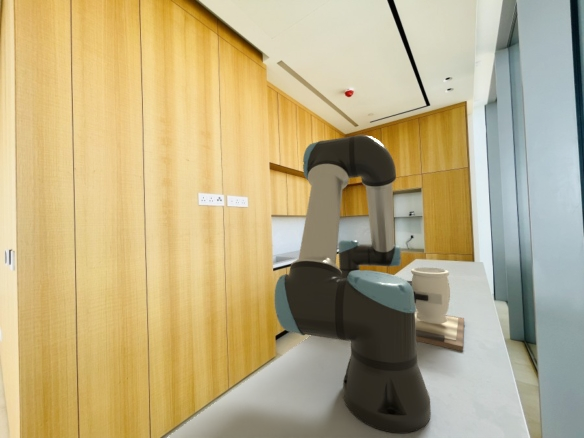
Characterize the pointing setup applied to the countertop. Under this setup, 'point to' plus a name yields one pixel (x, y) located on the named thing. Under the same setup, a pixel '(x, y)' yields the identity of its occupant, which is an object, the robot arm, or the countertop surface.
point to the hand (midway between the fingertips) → (445, 294)
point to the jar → (431, 283)
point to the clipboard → (441, 332)
